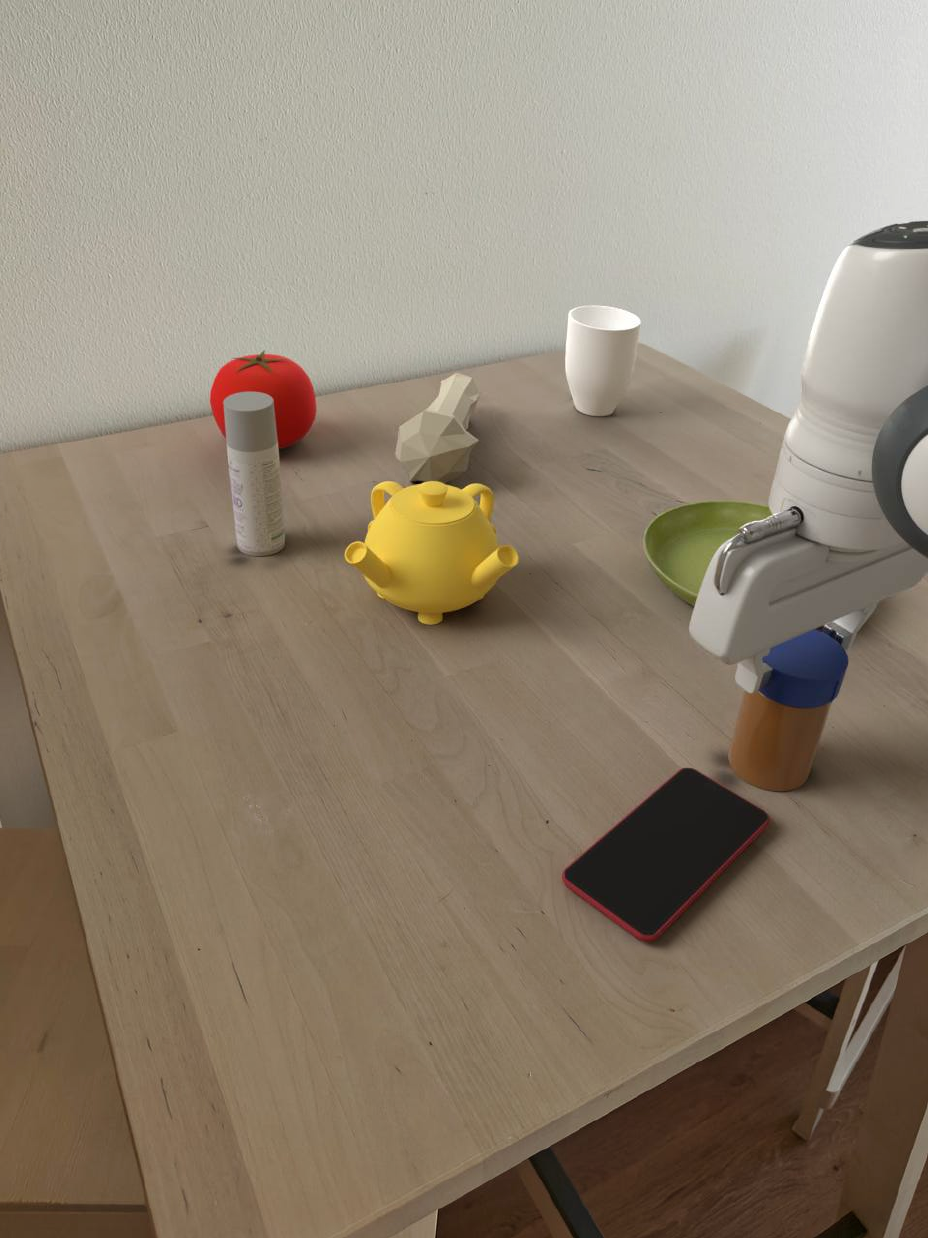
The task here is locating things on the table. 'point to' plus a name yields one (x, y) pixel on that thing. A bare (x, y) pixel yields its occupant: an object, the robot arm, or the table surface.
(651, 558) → the saucer
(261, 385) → the tomato
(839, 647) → the jar lid
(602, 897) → the smartphone
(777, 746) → the jar
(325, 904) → the table surface
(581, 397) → the mug
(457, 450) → the faceted club
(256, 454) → the container
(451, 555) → the teapot
